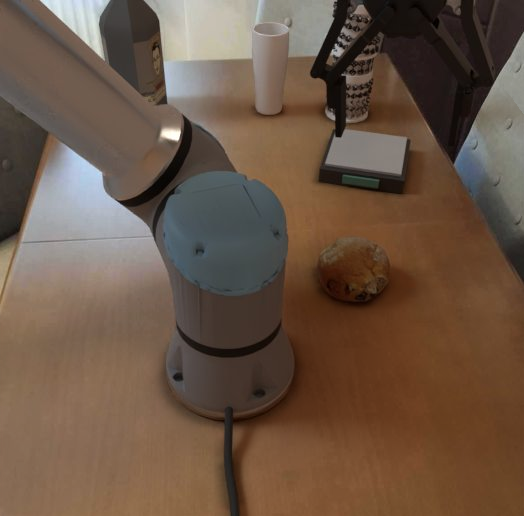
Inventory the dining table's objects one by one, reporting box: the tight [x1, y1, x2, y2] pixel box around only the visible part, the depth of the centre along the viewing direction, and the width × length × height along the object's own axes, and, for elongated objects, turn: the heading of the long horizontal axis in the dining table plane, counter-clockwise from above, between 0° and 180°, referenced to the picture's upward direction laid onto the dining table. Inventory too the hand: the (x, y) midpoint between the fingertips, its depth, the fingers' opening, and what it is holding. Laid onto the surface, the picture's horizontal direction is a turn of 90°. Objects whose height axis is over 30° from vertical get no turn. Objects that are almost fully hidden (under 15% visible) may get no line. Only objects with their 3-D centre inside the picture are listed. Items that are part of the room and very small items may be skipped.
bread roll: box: [317, 236, 391, 303], centre depth 82 cm, size 10×10×8 cm
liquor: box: [98, 0, 169, 106], centre depth 106 cm, size 9×9×30 cm
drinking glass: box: [251, 21, 290, 116], centre depth 112 cm, size 7×7×15 cm
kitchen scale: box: [318, 128, 412, 195], centre depth 103 cm, size 14×14×3 cm
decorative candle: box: [324, 0, 381, 124], centre depth 109 cm, size 9×9×25 cm
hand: (395, 136), depth 73 cm, fingers open, 13 cm apart
